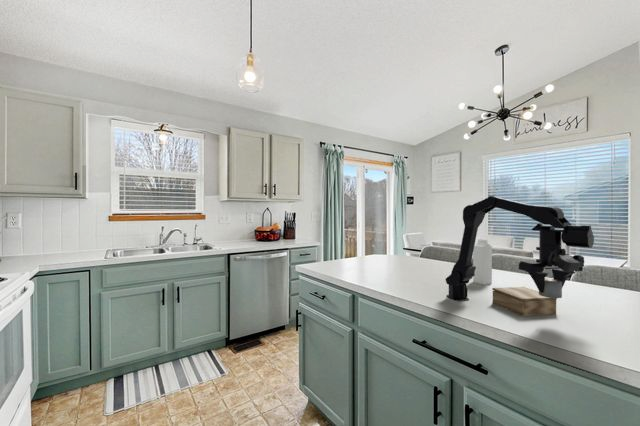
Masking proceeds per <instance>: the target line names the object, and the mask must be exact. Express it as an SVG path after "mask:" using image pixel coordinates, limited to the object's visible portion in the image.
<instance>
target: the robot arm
mask: <svg viewBox="0 0 640 426" xmlns="http://www.w3.org/2000/svg"><path fill="white" fill-rule="evenodd" d="M494 209H501V210H504V211H508V212H512V213H516V214H520V215H523V216H526V217H529V218H530V219H532V220H534V221H535V222H538V223H537V224H536V225H535V226H534V227H532V228H531V230H532V231H539V234H538V235H539V239H538V241H539V242H538V243H539V246H536V247H535V250H536V251H539V253H538V254H539V258H536V259H535V261H532V260H526V261H525V260H521V261H520V262H518V270H520V271H524V272H526V273H528V274H529V276H530V277H531V279H532V281H533V282H534V284H535V287H536V289H537V291H538V292H541V293H543V292H544V282H545V278H546V277H547V276H548V275H549V272H545V270H551V273H552V279H556V280H560V281H562V288H563V287H564V286H565V283H566V280H567V279H568V277H569V276H571V275H574V274H576V272H583V270H584V267H585V257H584V256H583V255H581V254H574V255H568V254H567V251H566V249H565V248H562V243H563V244H565V246H566V247H571V248H572V247H573V248H582V249H583V248H584V249H585V248H587V249H591V248H593V246H594V243H595V235H594V233H593V230H592V225H588V224H587V225H573V224H571V223H570V222H569V220H568V219H567V218H566V217H565V214H564V211H563V210H562V209H561V208H560V207H557V206H549V205H548V206H545V205H533V204H529V203H524V202H520V201H515V200H512V199H507V198H504V197H500V196H497V195H489V196H487V198H484V199H482V200H480V201H478V202H475V203H474V204H469V205H466V206H465V207H464V208H463V210H462V221H463V224H464V229H463V232H462V233H463V234H462V239H461V245H460V249H459V254H458V255H459V256H458V259H457V260H456V262H455V263H454V265H453V267H452V269H451V274H450V275H448V276H447V277H446V278H445V279H444V281H445V283H446V284H447V285H448V294H446V297H448V298H449V299H451V300H453V301H456V302H457V301H469V300H470V299H469V298H468V287H467V285H468V284H469V282H470V280H473V276H475V274H474V272H475V269H476V267H475V266H473V250H474V245H475V244H476V238H477V236H478V235H477V233H478V230H479V227H480V226H481V224H482V222H483V221H484V219H485V216H486V214H488V213H490V212H491V211H493V210H494Z"/></svg>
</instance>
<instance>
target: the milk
mask: <svg viewBox="0 0 640 426" xmlns="http://www.w3.org/2000/svg"><path fill="white" fill-rule="evenodd" d="M492 261H493V246H492V245H491V244H489V243H488V240H487V239H481V238H480V239H478V238H477V242H475V245H474V250H473V255H472V266H475V267H476V269H475V272H474V274H475V276H473V277H472V282H473V283H476V284H479V285H483V286H484V285H492V284H493V278H492V275H493V270H492V269H493V262H492Z"/></svg>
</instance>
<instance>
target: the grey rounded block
mask: <svg viewBox="0 0 640 426" xmlns="http://www.w3.org/2000/svg"><path fill="white" fill-rule="evenodd" d="M538 292H539V291H538ZM539 295H541V296H544V297H549V298H557V299H562V298H563V287H562V281H560V280H556V279H554V278H546V277H545V282H544V292H543V293H541V292H539Z"/></svg>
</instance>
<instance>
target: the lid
mask: <svg viewBox="0 0 640 426" xmlns="http://www.w3.org/2000/svg"><path fill="white" fill-rule="evenodd" d="M492 291H497V292H499V293H502V294H505V295H507V296H510V297H513V298H515V299H518V300H520V301H537V300H556V301H557V300H558V298H549V297H544V296H541V295H539V290H534V289H532V288H530V287H529V288H528V287H525V286H514V287H511V286H510V287H492Z"/></svg>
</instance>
